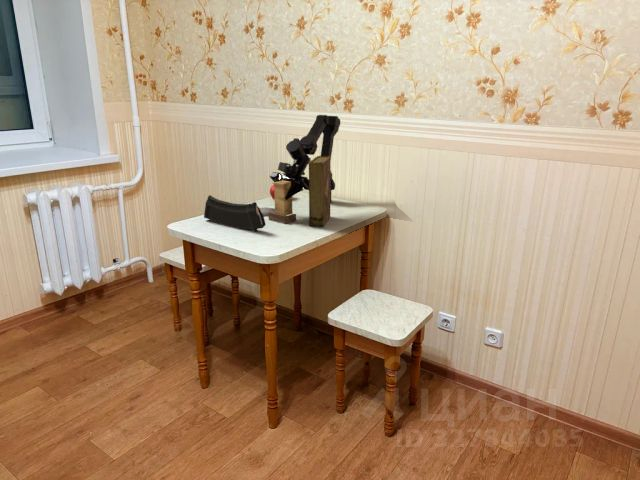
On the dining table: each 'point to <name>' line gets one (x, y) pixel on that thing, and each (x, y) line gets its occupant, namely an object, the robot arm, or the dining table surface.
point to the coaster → (267, 211)
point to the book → (319, 190)
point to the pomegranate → (272, 191)
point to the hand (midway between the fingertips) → (280, 198)
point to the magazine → (234, 214)
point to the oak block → (282, 198)
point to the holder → (282, 218)
